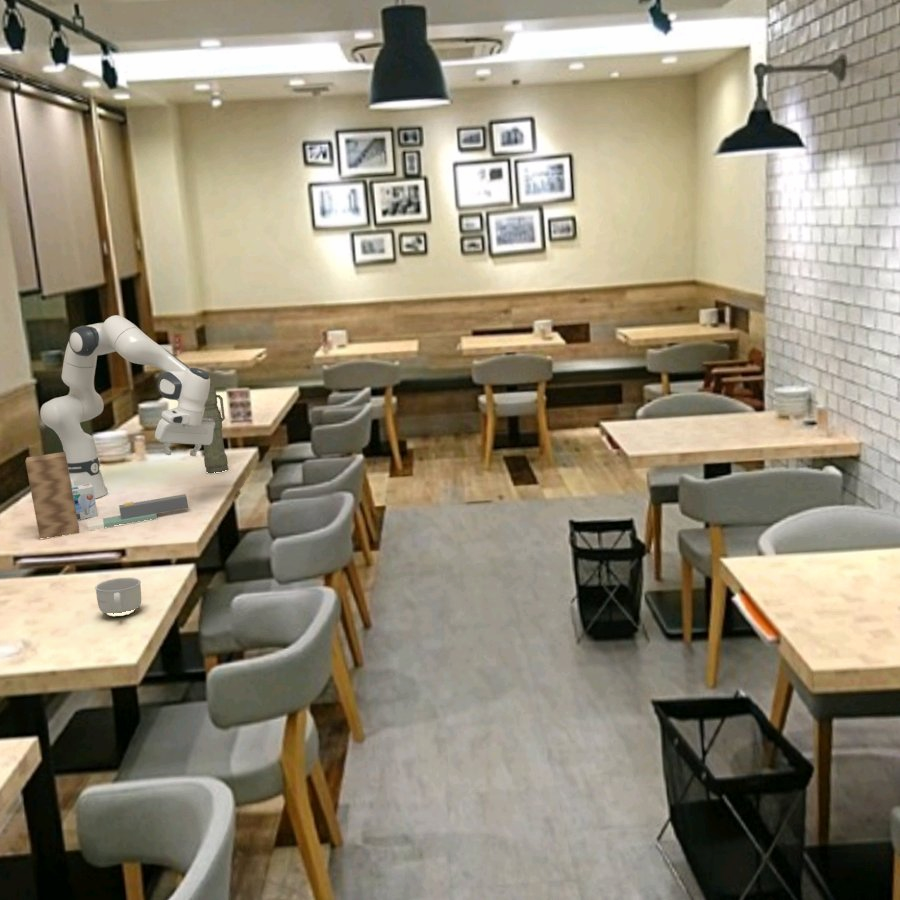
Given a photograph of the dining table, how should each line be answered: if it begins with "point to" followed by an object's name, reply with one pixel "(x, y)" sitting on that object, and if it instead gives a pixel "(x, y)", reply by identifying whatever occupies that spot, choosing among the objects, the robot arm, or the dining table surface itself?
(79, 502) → the light bulb box
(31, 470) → the brown wooden block
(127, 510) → the grey rectangular bar
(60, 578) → the dining table surface
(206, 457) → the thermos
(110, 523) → the board
